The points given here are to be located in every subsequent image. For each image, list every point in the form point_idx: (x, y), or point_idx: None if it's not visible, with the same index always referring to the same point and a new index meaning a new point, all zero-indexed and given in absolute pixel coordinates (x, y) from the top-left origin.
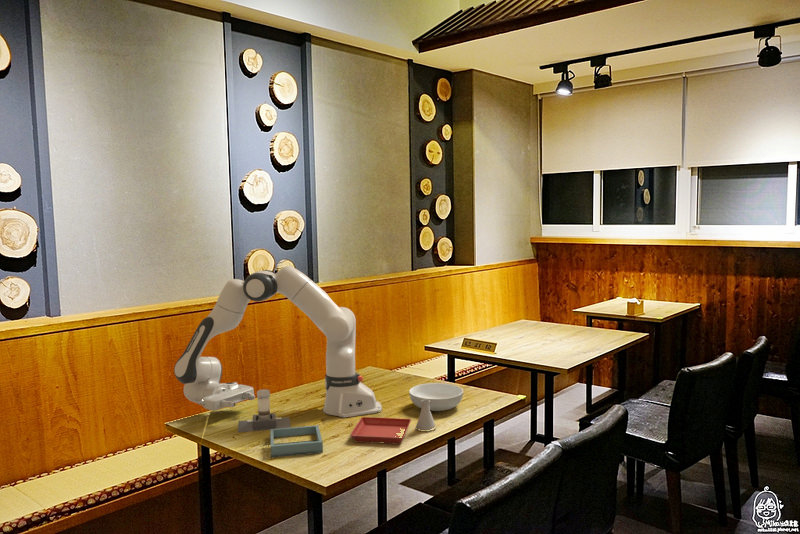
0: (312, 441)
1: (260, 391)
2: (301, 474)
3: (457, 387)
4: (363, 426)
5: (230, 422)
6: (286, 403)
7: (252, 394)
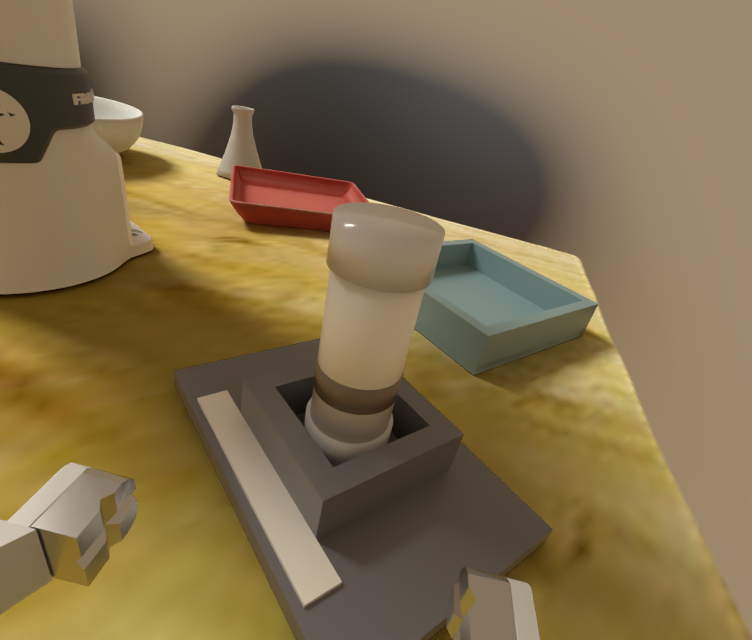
0: None
1: (409, 229)
2: (581, 280)
3: None
4: (263, 218)
5: None
6: None
7: (51, 489)
